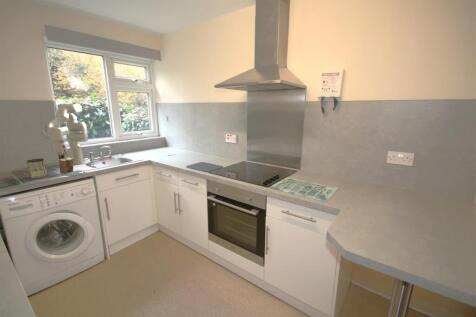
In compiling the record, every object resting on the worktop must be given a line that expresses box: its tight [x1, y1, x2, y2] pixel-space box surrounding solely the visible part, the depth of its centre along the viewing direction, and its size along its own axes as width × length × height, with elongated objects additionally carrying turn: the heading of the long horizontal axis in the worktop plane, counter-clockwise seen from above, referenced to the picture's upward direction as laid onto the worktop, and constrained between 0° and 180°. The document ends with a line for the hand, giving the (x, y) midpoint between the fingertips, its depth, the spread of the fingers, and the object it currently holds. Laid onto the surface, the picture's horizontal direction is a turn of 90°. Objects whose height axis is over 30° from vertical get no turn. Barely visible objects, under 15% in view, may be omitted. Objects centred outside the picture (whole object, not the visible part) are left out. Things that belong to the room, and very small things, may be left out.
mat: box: [61, 169, 85, 177], centre depth 188 cm, size 14×14×1 cm
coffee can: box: [26, 158, 48, 179], centre depth 179 cm, size 10×10×14 cm
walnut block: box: [58, 157, 74, 174], centre depth 189 cm, size 8×5×12 cm, turn 165°
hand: (62, 162), depth 189 cm, fingers closed
